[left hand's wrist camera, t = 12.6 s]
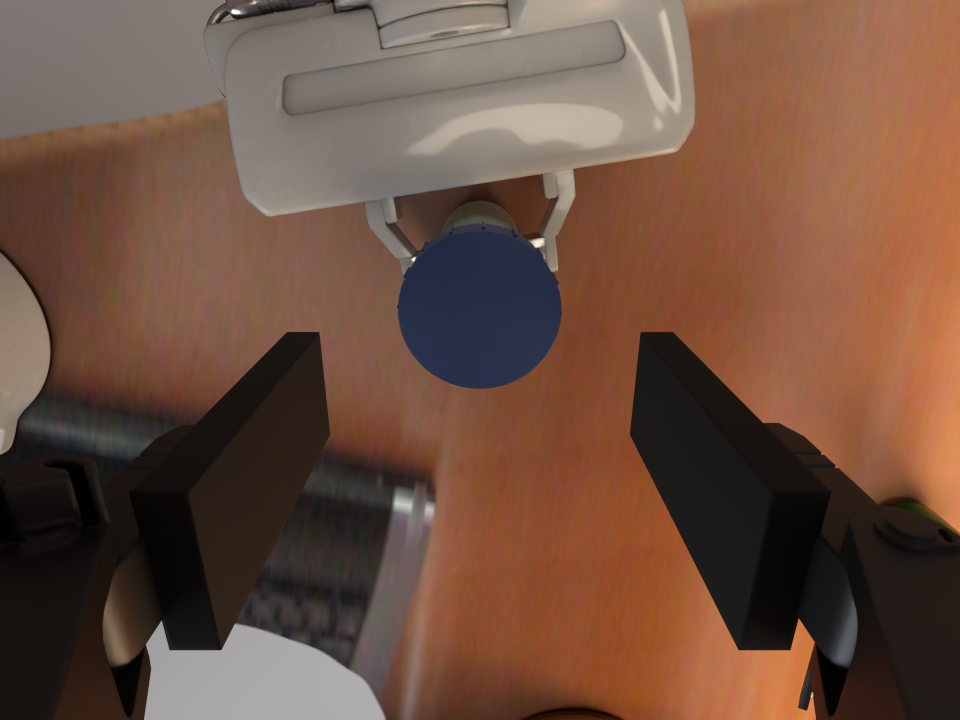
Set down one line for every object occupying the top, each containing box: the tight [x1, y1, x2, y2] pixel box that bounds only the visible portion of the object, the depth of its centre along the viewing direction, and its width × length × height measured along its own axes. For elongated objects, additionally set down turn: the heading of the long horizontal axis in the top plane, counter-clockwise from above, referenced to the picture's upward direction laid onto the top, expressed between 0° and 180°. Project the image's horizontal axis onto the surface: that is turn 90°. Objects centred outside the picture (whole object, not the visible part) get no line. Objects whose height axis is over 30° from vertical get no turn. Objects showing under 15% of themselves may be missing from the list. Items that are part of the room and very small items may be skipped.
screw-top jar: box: [441, 201, 520, 235], centre depth 28 cm, size 5×5×15 cm
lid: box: [397, 221, 562, 389], centre depth 21 cm, size 6×6×2 cm
